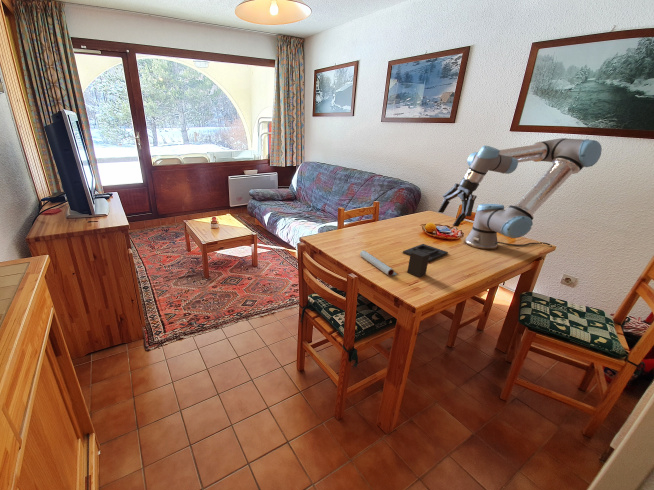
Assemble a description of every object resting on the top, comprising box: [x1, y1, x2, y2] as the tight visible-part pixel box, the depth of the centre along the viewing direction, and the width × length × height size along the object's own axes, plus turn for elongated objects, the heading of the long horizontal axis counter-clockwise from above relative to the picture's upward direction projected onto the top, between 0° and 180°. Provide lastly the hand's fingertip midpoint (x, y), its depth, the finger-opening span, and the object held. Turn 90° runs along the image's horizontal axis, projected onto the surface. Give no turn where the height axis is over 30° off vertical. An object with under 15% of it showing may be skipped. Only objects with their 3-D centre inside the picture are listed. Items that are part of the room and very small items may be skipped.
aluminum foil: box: [359, 250, 398, 277], centre depth 147 cm, size 23×7×3 cm, turn 19°
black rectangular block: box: [407, 250, 430, 278], centre depth 138 cm, size 5×6×10 cm
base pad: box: [402, 243, 449, 263], centre depth 160 cm, size 18×14×3 cm
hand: (447, 218), depth 156 cm, fingers open, 13 cm apart
